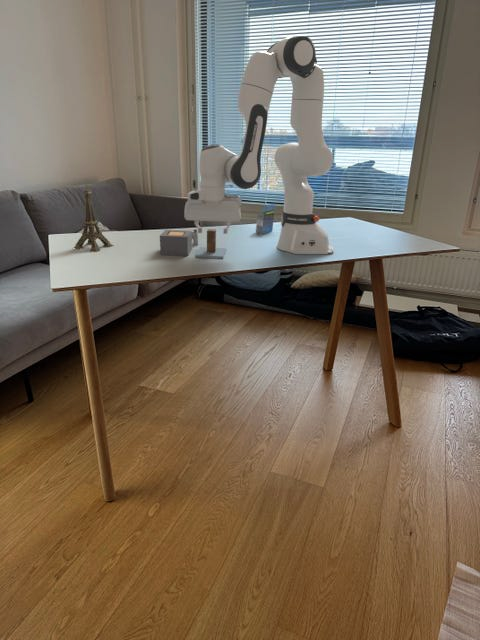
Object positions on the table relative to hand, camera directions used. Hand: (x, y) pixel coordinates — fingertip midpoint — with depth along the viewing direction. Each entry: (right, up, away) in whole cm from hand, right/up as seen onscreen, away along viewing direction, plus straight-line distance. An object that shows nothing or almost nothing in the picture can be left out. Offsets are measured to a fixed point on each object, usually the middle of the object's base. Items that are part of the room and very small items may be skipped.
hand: (212, 233), depth 156 cm
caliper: (-11, +2, +22) cm, 25 cm away
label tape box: (+21, +9, +41) cm, 47 cm away
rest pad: (-1, -7, +3) cm, 8 cm away
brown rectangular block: (-1, -6, +3) cm, 7 cm away
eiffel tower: (-46, -4, +5) cm, 46 cm away
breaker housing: (-14, -6, +3) cm, 15 cm away
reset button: (-14, -3, +2) cm, 14 cm away
